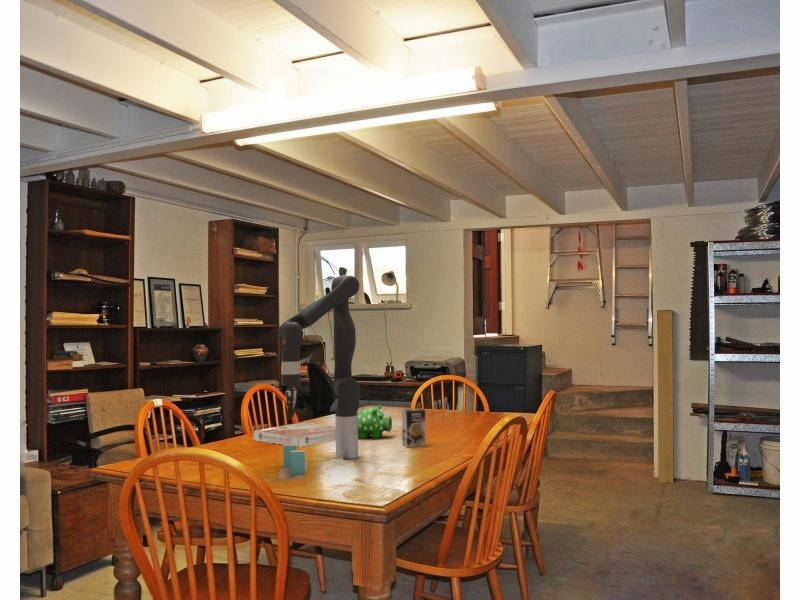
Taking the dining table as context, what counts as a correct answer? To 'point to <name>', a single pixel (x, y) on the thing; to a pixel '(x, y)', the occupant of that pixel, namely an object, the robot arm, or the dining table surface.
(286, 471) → the board
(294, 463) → the tile
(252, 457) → the dining table surface
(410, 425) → the coffee box
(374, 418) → the piggy bank
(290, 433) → the pizza box
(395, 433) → the dining table surface
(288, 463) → the tile
